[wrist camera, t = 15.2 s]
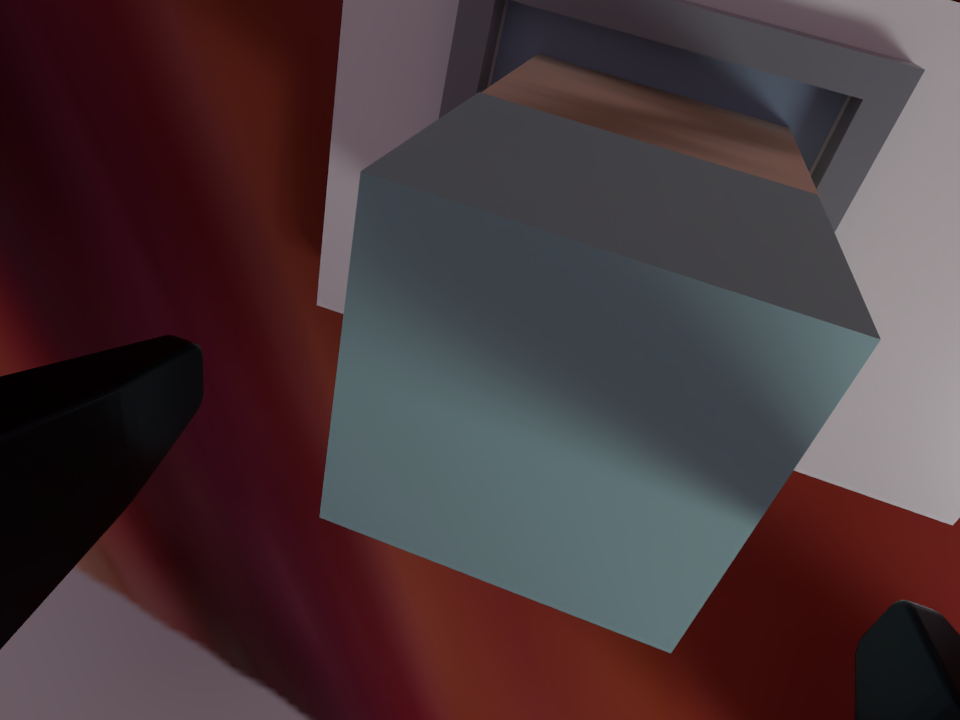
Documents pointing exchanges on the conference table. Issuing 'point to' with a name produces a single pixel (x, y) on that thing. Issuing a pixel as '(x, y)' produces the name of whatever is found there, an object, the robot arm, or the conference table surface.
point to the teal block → (581, 361)
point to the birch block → (657, 118)
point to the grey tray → (757, 93)
